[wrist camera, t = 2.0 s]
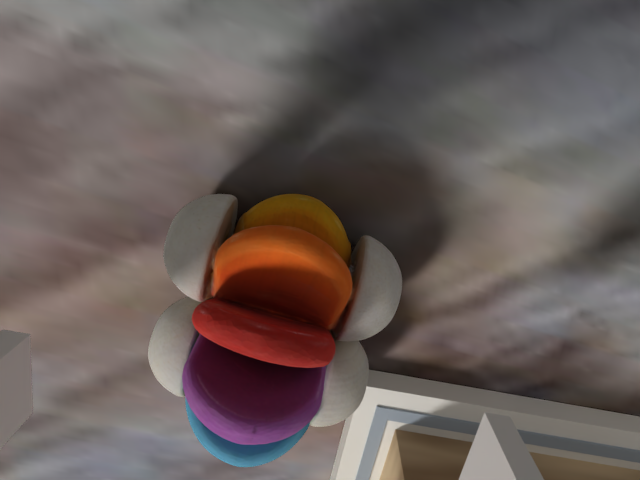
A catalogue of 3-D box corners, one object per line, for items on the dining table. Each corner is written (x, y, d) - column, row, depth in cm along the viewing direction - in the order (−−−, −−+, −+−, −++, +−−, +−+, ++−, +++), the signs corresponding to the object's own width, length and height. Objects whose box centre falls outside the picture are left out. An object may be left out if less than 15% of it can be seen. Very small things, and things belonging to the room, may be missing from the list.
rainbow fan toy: (411, 213, 18) (461, 300, 11) (341, 402, 21) (346, 560, 14) (201, 154, 17) (113, 208, 10) (163, 359, 20) (79, 502, 13)
